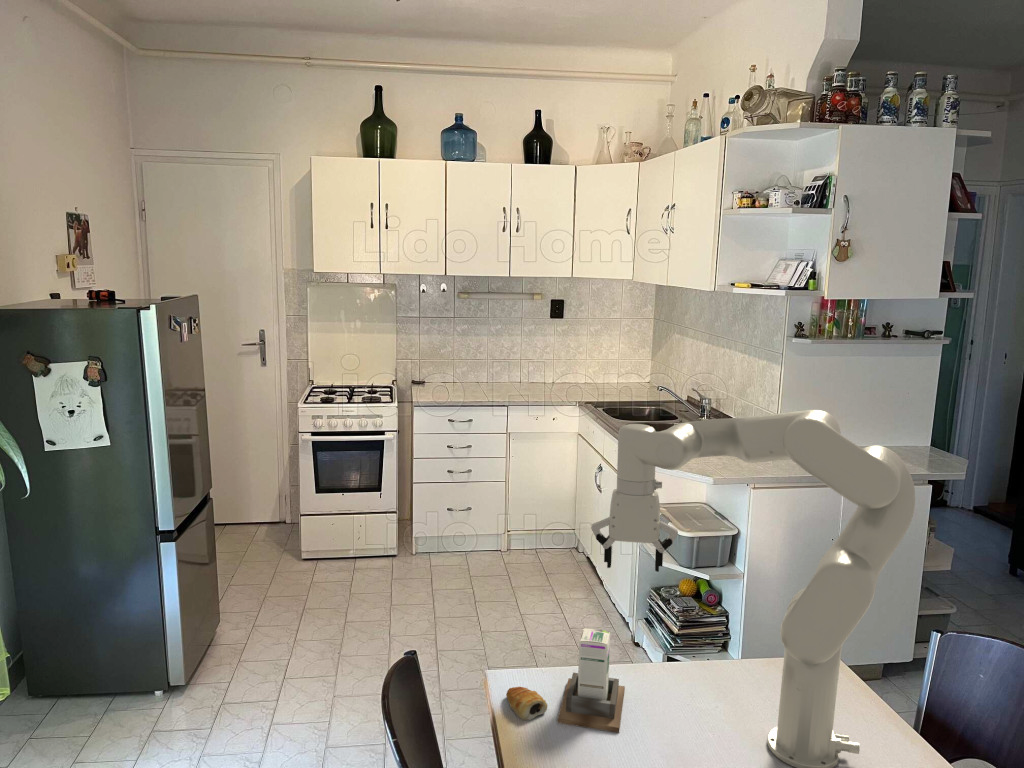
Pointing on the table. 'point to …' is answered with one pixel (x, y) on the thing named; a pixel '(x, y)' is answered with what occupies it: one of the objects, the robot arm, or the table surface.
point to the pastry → (526, 702)
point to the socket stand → (592, 707)
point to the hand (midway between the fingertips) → (632, 567)
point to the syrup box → (594, 664)
